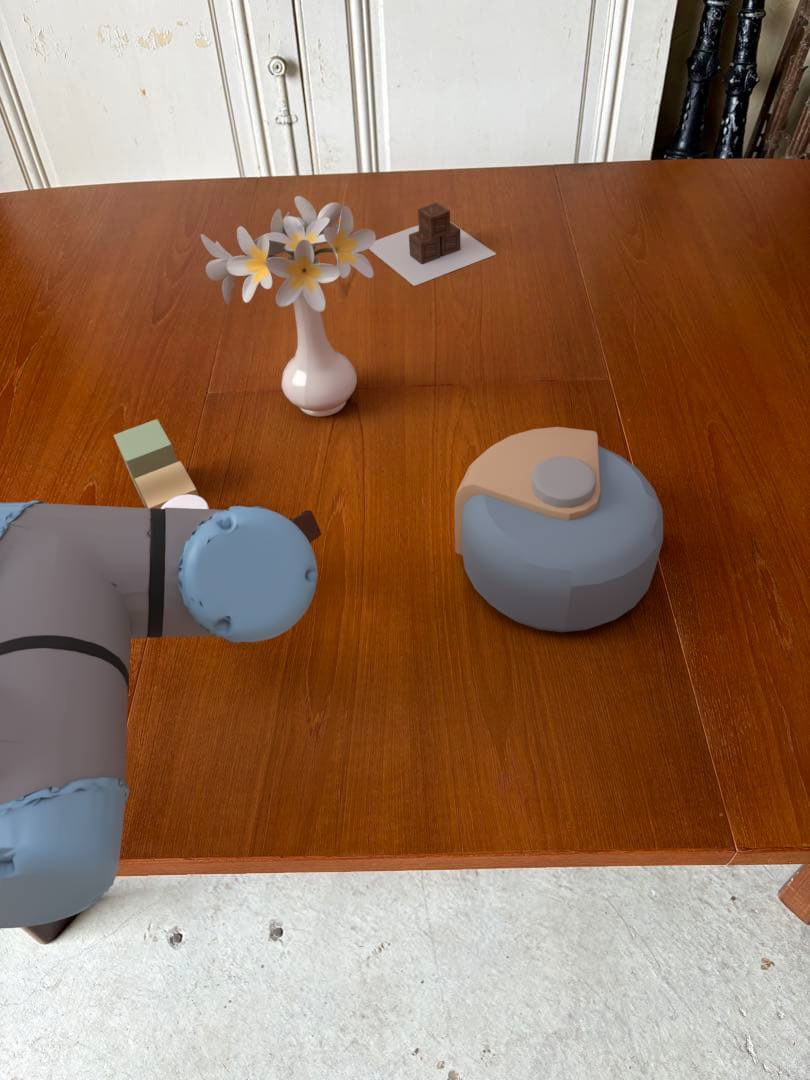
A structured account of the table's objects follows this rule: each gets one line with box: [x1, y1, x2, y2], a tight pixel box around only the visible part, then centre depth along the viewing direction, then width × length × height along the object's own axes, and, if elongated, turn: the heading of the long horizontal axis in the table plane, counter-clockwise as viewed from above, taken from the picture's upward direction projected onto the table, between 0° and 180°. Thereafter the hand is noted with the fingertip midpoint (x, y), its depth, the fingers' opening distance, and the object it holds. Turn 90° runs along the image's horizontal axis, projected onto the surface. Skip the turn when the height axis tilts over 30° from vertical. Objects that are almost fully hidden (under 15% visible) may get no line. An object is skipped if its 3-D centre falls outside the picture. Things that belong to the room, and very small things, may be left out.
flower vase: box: [200, 195, 377, 418], centre depth 93 cm, size 13×18×25 cm
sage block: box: [113, 418, 179, 508], centre depth 91 cm, size 5×5×8 cm
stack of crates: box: [367, 202, 497, 287], centre depth 124 cm, size 15×15×7 cm
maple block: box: [135, 460, 200, 509], centre depth 86 cm, size 5×5×8 cm
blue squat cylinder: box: [454, 426, 664, 633], centre depth 79 cm, size 19×20×12 cm
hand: (204, 567), depth 78 cm, fingers open, 13 cm apart
